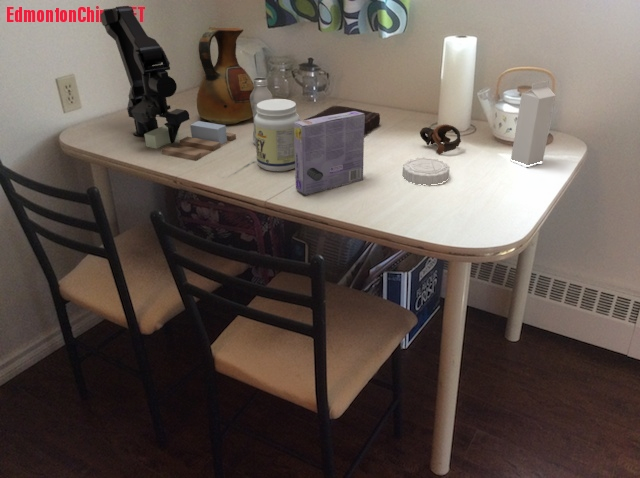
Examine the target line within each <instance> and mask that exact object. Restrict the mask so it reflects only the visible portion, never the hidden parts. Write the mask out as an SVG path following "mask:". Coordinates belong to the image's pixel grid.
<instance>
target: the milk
mask: <svg viewBox="0 0 640 478" xmlns="http://www.w3.org/2000/svg"><path fill="white" fill-rule="evenodd" d="M555 100H556V94H555V93H554V92H553V91H552V89H551V88H550V87H549V80H544V81H539V82H533V83H532V84H531V89H529V90H526V91H523V92H521V96H520V102H519V107H518V115H517V119H516V126H515V130H514V131H515V133H514V137H513V138H514V139H513V144H512V145H513V146H512V151H511V157H510V160H511V159H512V160H515V161H518V162H521V163H524V164H526V165H530V164H534V163H537V162H540V161H543V162H544V156H545V152H546V147H547V142H548V137H549V131H550V126H551V123H552V115H553V111H554V105H555Z"/></svg>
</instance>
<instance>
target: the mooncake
mask: <svg viewBox="0 0 640 478" xmlns="http://www.w3.org/2000/svg"><path fill="white" fill-rule="evenodd" d="M402 176H403V177H404V178H403V177H402ZM402 176H401V177H402V178H403V180H404V179H406V180H405V181H408V183H410V182H412V183H411V184H413V183H415V184H414V185H418V184H421V185H423V184H426V185H431V184H438V183H442V182H443V181H446V180H447V179H448V178H450V166H449V165H448V163H445V162H444V161H443V160H439V159H436V158H429V157H417V158H415V159H410V160H407V161H405V162H404V163H403V165H402ZM448 180H449V179H448ZM448 180H447V181H448ZM421 185H420V186H421ZM438 185H439V184H438ZM431 186H432V185H431Z"/></svg>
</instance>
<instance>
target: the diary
mask: <svg viewBox="0 0 640 478" xmlns="http://www.w3.org/2000/svg"><path fill="white" fill-rule="evenodd" d="M352 111H357V112H360V113H364V115H365V124H364V136H365V135H366V134H367V133H369V132H370V131H372V130H374V129H376V128H377V127H379V126H380V124H381V123H380V122H381V115H380V113H379V112H373V111H370V110H369V111H368V110H362V109H359V108H356V107H355V108H354V107H348V106H342V105H332V106H330V107H328V108H326V109H324V110H322V111H320V112H318V113H316V114H314V115H312V116H310V117H307V118H305V119H303V120H309V119H314V118H319V117H324V116H330V115H336V114H341V113H347V112H352ZM376 126H377V127H376ZM373 128H374V129H373Z"/></svg>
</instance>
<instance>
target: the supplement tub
mask: <svg viewBox="0 0 640 478" xmlns="http://www.w3.org/2000/svg"><path fill="white" fill-rule="evenodd" d="M297 121H301V117H300V115H299V114H298V113H297V104H296V101H293V100H290V99H284V98H273V99H270V100H264V101H261V102H259V103H258V104H257V114H256V116H255V118H254V120H253V125H254V124H255V138H256V145H255V152H256V162H257V164H258V166H259V167H260V168H262V169H263V170H266V171H271V172H285V171H290V170H293V169H295V143H294V122H297Z"/></svg>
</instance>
